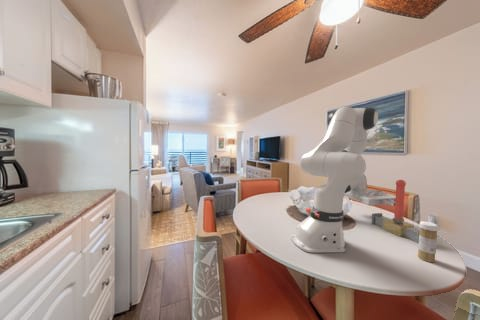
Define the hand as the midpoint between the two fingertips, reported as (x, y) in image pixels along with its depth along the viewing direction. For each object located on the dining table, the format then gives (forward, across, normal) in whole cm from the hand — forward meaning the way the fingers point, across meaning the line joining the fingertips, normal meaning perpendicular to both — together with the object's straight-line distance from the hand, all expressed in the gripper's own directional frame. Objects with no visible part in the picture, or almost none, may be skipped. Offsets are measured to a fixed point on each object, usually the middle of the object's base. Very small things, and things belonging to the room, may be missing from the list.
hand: (395, 204), depth 87 cm
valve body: (+2, 0, +13) cm, 13 cm away
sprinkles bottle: (+21, -13, +14) cm, 28 cm away
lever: (+2, 0, +7) cm, 7 cm away
